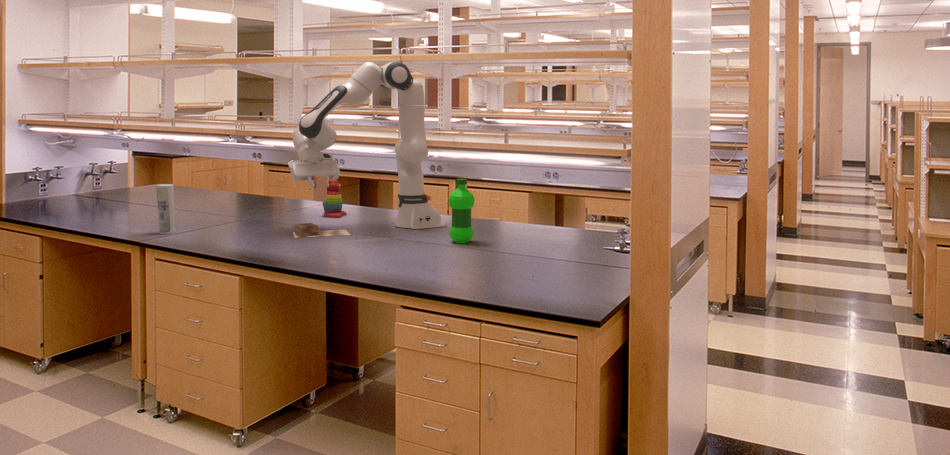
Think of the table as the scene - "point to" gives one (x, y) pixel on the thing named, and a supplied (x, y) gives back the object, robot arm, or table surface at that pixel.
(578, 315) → the table surface
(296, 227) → the walnut plinth
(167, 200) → the spray can
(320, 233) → the birch base board
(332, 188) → the stacking bear
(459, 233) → the plastic bottle
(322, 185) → the terracotta pillar
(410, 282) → the table surface
